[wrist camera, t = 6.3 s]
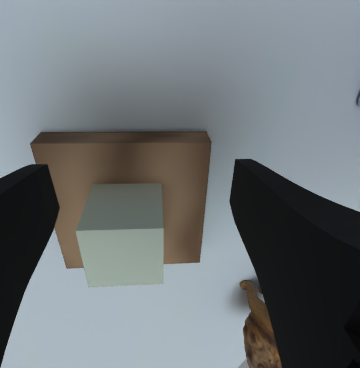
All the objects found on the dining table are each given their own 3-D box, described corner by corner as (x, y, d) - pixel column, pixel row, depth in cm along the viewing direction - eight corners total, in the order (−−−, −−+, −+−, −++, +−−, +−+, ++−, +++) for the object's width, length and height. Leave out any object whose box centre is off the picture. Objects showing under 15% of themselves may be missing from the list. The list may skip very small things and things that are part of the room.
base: (206, 131, 20) (211, 142, 18) (196, 246, 26) (199, 262, 25) (41, 132, 19) (29, 143, 17) (72, 251, 25) (66, 268, 24)
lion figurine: (253, 311, 33) (282, 398, 26) (219, 301, 32) (239, 391, 24) (342, 232, 27) (415, 316, 20) (305, 214, 25) (370, 298, 18)
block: (161, 183, 20) (163, 228, 15) (161, 233, 22) (163, 283, 18) (92, 184, 19) (75, 230, 15) (100, 235, 22) (88, 287, 18)
